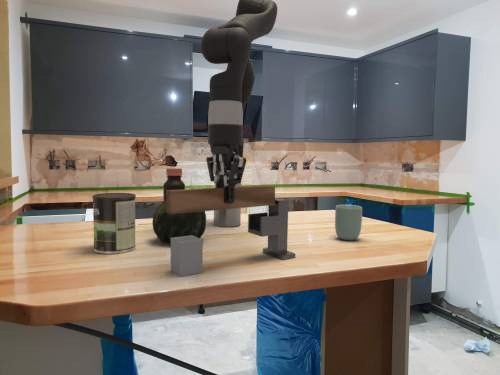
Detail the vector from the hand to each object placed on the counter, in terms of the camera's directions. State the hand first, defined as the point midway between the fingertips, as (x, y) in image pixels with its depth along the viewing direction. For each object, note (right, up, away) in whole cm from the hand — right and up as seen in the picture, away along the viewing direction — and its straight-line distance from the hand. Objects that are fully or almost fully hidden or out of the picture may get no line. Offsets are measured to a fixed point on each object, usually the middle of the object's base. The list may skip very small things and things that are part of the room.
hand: (224, 201), depth 81 cm
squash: (-14, -12, +23) cm, 30 cm away
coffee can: (-29, -13, +13) cm, 34 cm away
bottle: (-19, -11, +37) cm, 43 cm away
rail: (0, -1, 0) cm, 1 cm away
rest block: (-8, -15, -4) cm, 17 cm away
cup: (+35, -13, +29) cm, 47 cm away
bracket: (+10, -14, +9) cm, 19 cm away
